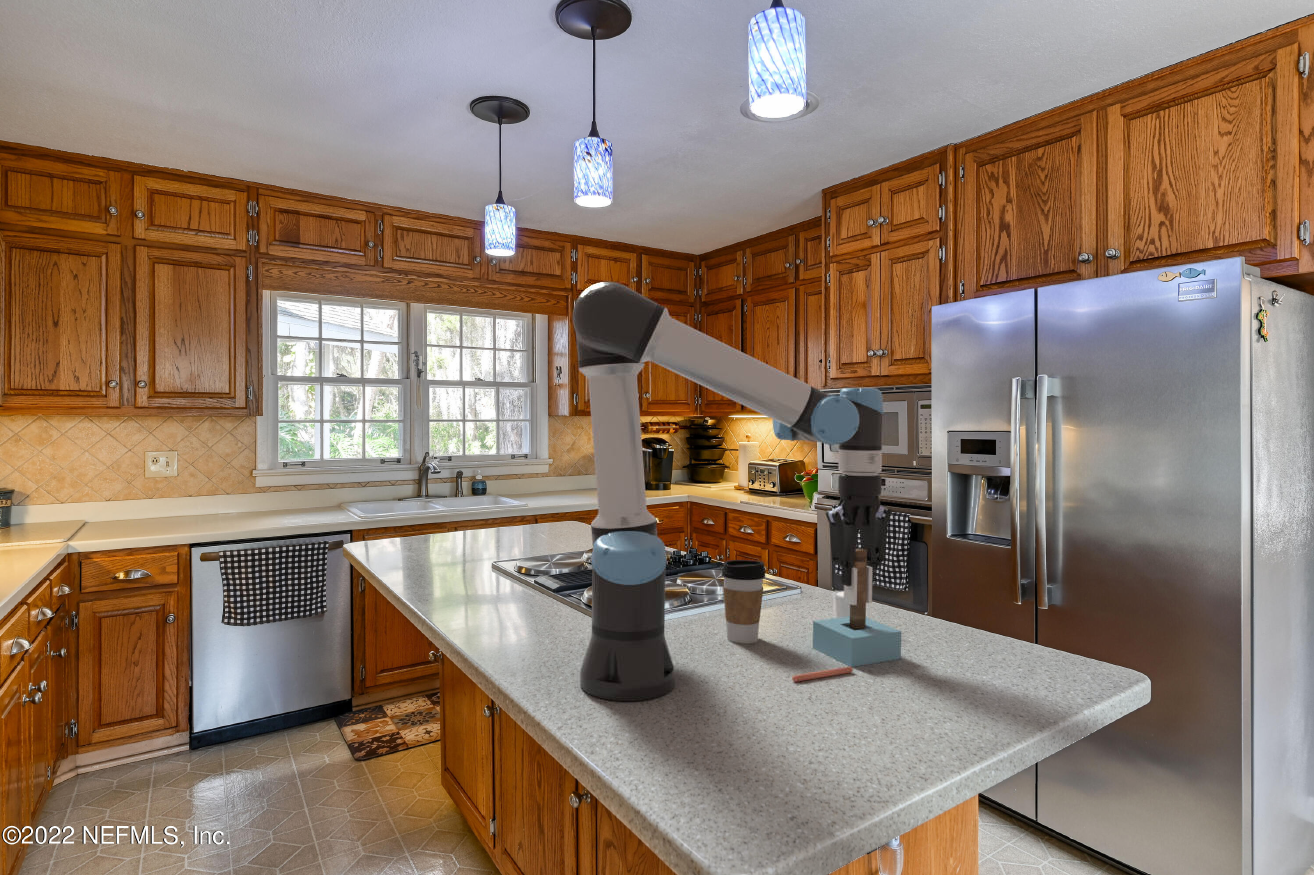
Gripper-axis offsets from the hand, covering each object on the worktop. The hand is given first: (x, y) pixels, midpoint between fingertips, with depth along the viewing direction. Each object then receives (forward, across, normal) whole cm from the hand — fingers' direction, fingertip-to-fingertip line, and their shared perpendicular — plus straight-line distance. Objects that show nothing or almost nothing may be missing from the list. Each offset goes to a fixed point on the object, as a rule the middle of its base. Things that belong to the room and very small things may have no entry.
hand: (857, 601), depth 130 cm
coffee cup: (+10, -15, +15) cm, 23 cm away
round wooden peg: (+6, 0, 0) cm, 6 cm away
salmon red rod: (+9, -13, -7) cm, 18 cm away
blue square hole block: (+9, 0, 0) cm, 9 cm away
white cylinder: (+10, +9, +13) cm, 19 cm away
